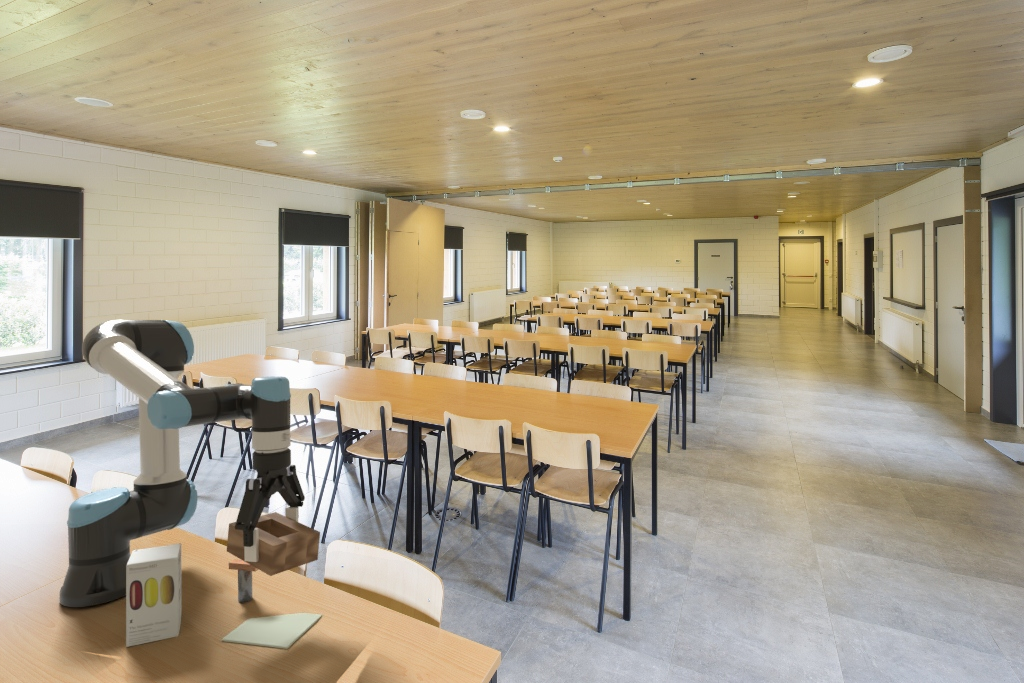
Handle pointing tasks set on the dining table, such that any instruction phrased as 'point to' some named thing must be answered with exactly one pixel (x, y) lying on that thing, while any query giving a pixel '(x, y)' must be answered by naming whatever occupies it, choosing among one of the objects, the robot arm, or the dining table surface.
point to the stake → (243, 579)
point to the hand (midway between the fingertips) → (273, 548)
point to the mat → (273, 630)
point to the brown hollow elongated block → (278, 543)
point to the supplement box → (153, 594)
